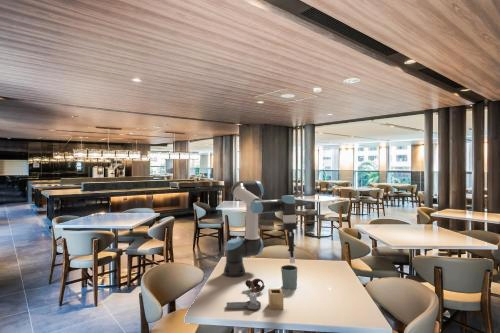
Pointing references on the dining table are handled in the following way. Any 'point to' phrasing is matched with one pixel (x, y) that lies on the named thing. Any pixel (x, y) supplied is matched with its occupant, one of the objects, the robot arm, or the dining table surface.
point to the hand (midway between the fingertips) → (292, 260)
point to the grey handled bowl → (245, 304)
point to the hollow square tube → (275, 299)
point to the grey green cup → (289, 276)
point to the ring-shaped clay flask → (255, 285)
